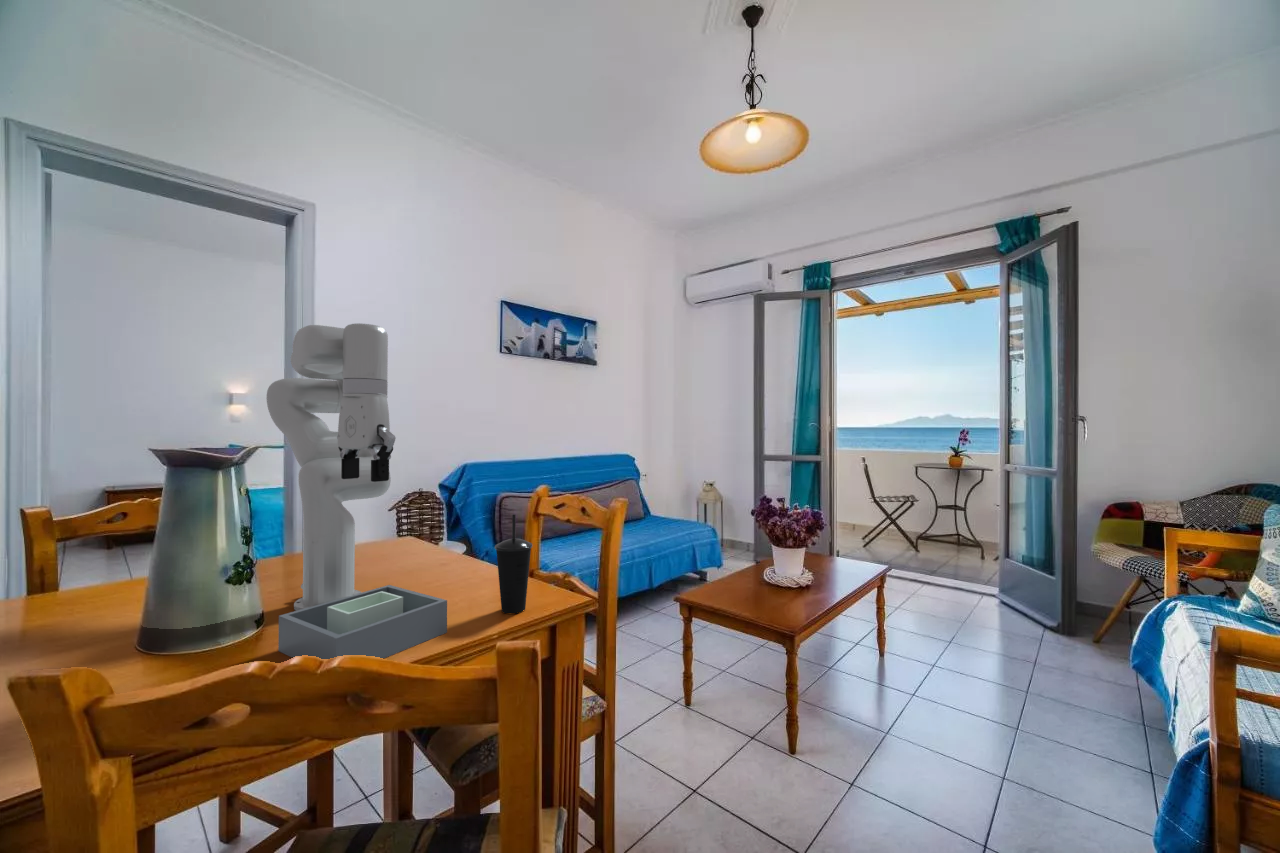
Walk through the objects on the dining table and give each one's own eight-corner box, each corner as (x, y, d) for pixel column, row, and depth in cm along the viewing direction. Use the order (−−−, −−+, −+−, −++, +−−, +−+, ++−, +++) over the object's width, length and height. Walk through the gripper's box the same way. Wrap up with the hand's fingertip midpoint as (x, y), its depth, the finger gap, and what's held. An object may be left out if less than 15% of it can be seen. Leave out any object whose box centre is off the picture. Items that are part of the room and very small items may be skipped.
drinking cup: (517, 601, 110) (517, 510, 110) (539, 609, 105) (539, 514, 106) (487, 610, 104) (487, 515, 104) (509, 619, 99) (509, 519, 100)
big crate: (278, 651, 85) (278, 615, 85) (389, 614, 102) (389, 584, 102) (335, 677, 76) (336, 638, 76) (446, 632, 93) (447, 600, 93)
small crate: (326, 641, 86) (327, 607, 87) (381, 622, 95) (382, 591, 95) (347, 650, 83) (348, 614, 83) (402, 629, 92) (403, 597, 92)
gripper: (320, 390, 96) (319, 479, 96) (372, 386, 87) (372, 484, 87) (359, 393, 103) (358, 476, 103) (411, 389, 94) (410, 480, 94)
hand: (364, 479), depth 95 cm, fingers open, 9 cm apart
